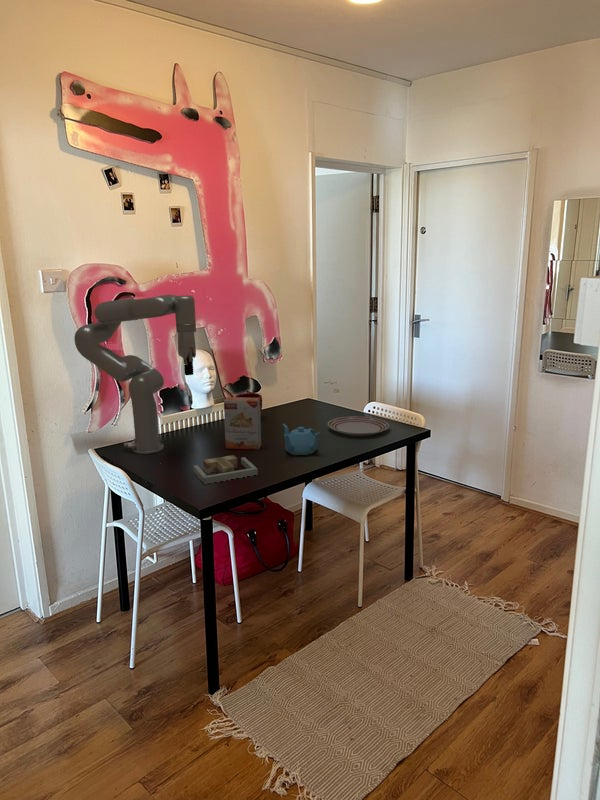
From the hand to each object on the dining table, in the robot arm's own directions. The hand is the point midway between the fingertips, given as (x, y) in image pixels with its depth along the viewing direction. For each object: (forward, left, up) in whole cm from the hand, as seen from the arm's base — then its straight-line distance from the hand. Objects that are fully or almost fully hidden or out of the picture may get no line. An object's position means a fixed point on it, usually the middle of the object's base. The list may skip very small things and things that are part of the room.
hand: (189, 374), depth 237 cm
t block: (+4, -28, -32) cm, 43 cm away
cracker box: (+20, -4, -32) cm, 38 cm away
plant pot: (+36, +33, -32) cm, 59 cm away
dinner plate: (+74, -5, -33) cm, 81 cm away
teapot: (+38, -20, -32) cm, 54 cm away
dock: (+4, -29, -32) cm, 43 cm away
